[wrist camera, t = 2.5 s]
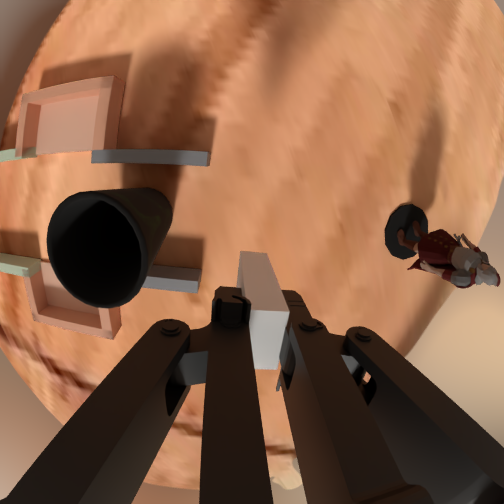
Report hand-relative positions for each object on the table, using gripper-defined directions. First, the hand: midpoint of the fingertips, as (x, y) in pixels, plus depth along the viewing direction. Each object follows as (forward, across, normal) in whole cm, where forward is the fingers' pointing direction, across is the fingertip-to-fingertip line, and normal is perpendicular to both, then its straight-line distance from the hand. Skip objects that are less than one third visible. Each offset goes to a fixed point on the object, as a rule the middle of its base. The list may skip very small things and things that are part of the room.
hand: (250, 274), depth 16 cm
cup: (+12, -10, 0) cm, 16 cm away
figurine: (+12, +19, +2) cm, 23 cm away
